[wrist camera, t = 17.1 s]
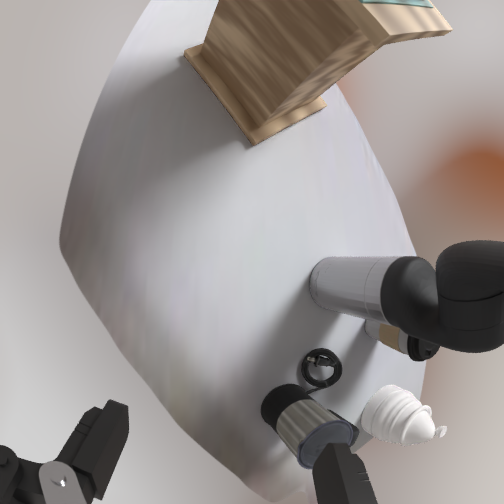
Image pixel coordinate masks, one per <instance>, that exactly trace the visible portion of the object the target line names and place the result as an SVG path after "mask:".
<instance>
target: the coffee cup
mask: <svg viewBox="0 0 504 504" xmlns="http://www.w3.org/2000/svg"><path fill="white" fill-rule="evenodd" d="M365 330H366V333H367V334H368V335H369V336H370V337H372V338H374V339H376V340H378V341H380V342H382V343H383V344H385V345H387V346H389V347H391V348H393V349H395V350H397V351H399V352H401V353H403V354H407V355H409V357H410V358H411V359H412V360H413V361H424V360H426V359H430V358H431V357H433V356H434V355H435V354H436V352H437V351H438V350H439V348H440V346H439V345H436V344H433V343H430V342H427V341H424V340H421V339H418V338H415V337H412V336H409V335H407V334H405V333H404V332H403V331H402V330H401V329H400V328H398V327H394V326H390V325H386V324H382V323H378V322H374V321H370V320H366V323H365Z"/></svg>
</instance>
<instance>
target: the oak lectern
mask: <svg viewBox="0 0 504 504" xmlns="http://www.w3.org/2000/svg"><path fill="white" fill-rule="evenodd" d="M452 30H453V29H452V28H451V26H450V25H449V24H448V22H447V21H446V20H445V18H444V17H443V16H442V15H441V14H440V13H439V11H438V10H437V9H436V8H435V6H434V5H433V4H432V3H431V2H430V0H219V2H218V4H217V7H216V9H215V12H214V15H213V17H212V20H211V23H210V26H209V28H208V31H207V34H206V37H205V40H204V43H203V44H200V45H197V46H195V47H192V48H189V49H187V50H185V51H184V56H185V58H186V59H187V60H188V61H189V62H190V64H191V65H192V66H193V67H194V69H195V70H196V71H197V72H198V74H199V75H200V76H201V77H202V79H203V80H204V81H205V82H206V84H207V85H208V86H209V87H210V89H211V90H212V91H213V93H214V94H215V95H216V96H217V98H218V99H219V100H220V102H221V103H222V104H223V106H224V107H225V108H226V110H227V111H228V112H229V114H230V115H231V116H232V118H233V119H234V120H235V122H236V123H237V124H238V126H239V127H240V128H241V130H242V131H243V133H244V134H245V135H246V137H247V138H248V139H249V141H250V142H251V144H252V145H253V146H255V145H257V144H258V143H260V142H262V141H264V140H265V139H267V138H269V137H271V136H272V135H274V134H276V133H278V132H280V131H281V130H283V129H285V128H287V127H289V126H291V125H292V124H294V123H296V122H298V121H300V120H302V119H304V118H306V117H308V116H310V115H312V114H313V113H315V112H317V111H319V110H321V109H323V108H325V107H326V106H327V104H326V103H325V102H324V100H323V99H322V98H321V96H320V95H321V94H323V93H324V92H325V91H326V90H327V89H329V88H330V87H331V86H332V85H333V84H335V83H336V82H337V81H338V80H340V79H341V78H342V77H343V76H344V75H346V74H347V73H348V72H349V71H351V70H352V69H353V68H354V67H356V66H357V65H358V64H359V63H361V62H362V61H363V60H365V59H366V58H367V57H369V56H370V55H371V54H372V53H374V52H375V51H376V50H378V49H379V48H380V47H382V46H383V45H386V44H390V43H396V42H401V41H407V40H413V39H420V38H427V37H435V36H444V35H445V34H447V33H449V32H451V31H452Z"/></svg>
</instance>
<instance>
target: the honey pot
mask: <svg viewBox="0 0 504 504" xmlns="http://www.w3.org/2000/svg"><path fill="white" fill-rule="evenodd" d="M431 415H432V411H431V408H430V407H429V406H427V405H423V406H422V404H421V403H420V401H418V400H417V399H416V398H415V397H414V395H413V394H412V393H411V392H409V391H406V390H404V389H402V388H400V387H397V386H395V385H387V386H384V387H383V388H381V389H380V390H378V391H377V392H376V393H375V394H374V395H373V396H372V397H371V399H370V400H369V401H368V403H367V405H366V406H365V409H364V411H363V413H362V418H361V425H362V427H363V429H364V430H365V431H366V432H368V433H369V434H371V435H372V436H374V437H375V438H377V439H378V440H381V441H388V442H392V443H400V444H401V445H402V446H409V445H411V444H419V443H424V442H427V441H429V440H431V439H432V438H433V437H434V436H435V435H436V434H437V436H438V437H440V438H441V437H442V436H443V435H444V434H445V433H446V430H447V427H446V426H440V427H438V428H437V429H436V431H435V426H434V423H433V421H432V419H431Z"/></svg>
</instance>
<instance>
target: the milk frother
mask: <svg viewBox="0 0 504 504" xmlns="http://www.w3.org/2000/svg"><path fill="white" fill-rule="evenodd" d="M320 355H323V356H326V357H328V358H324V357H322V356H320ZM310 362H314V365H315V367H317V365H320V366H326V367H327V366H331V367H334V373H333V375H332V376H331V377H330V378H328V379H327V380H324V381H318V380H315V379H314V378H313V377H312V376H311V375H310V374H309V371H308V366H309V363H310ZM302 374H303V377H304V378H305V380H306V381H307V382H308V383H309V384H311V385H313V386H316V387H319V388H316V389H312V390H309V391H307V392H306V391H305V390H304V389H303V388H302V387H301V386H299V385H296V384H285V385H282V386H279V387H277V388H275V389H274V390H272V391H271V392H270V393H269V394H268V395H267V396H266V398H265V399H264V401H263V403H262V407H261V414H262V417H263V419H264V421H265V422H266V423H268V424H269V425H270V426H271V427H272V428H273V429H274V430H275V431H276V433H277V434H278V435H279V436H280V438H281V439H282V441H283V442H284V443H285V444H286V446H287V447H288V448H289V449H290V450H291V452H292V453H293V454H294V455H295V457H296V458H297V460H298V463H299V464H300V465H301V466H302V467H304V468H306V469H313V465H314V463H315V461H316V459H317V458H318V457H319V455H320V454H321V452H322V451H323V449H324V448H325V446H326V445H327V444H328V443H347V444H348V445H349V447H351V446H352V445H353V444H354V443H355V441H356V439H357V437H358V435H359V429H358V428H357V427H356V426H354V425H353V424H351V423H350V422H348V421H347V420H345V419H344V418H342V417H341V416H339V415H338V414H336V413H335V412H333V411H331V410H328V409H325V408H324V407H323V406H321V405H320V404H319V403H318V402H316V401H315V400H314V399H313V398H311V397H310V396H309V395H308V394H310V393H312V392H314V391H317V390H320V389H324V388H327V387H329V386H332V385H333V384H335V383H336V382H337V381H338V380H339V379H340V377H341V374H342V365H341V362H340V360H339V358H338V357H337V356H336V355H335V354H334V353H333V352H332V351H330V350H328V349H324V348H319V349H315V350H312V351H311V352H310V353H308V354H307V356H306V357H305V359H304V361H303V364H302Z"/></svg>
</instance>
